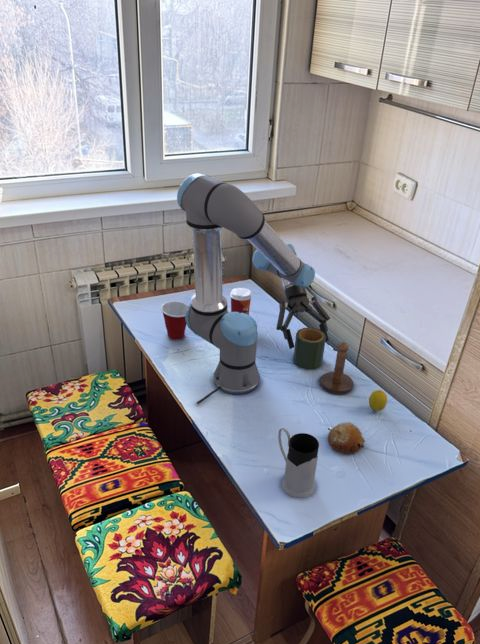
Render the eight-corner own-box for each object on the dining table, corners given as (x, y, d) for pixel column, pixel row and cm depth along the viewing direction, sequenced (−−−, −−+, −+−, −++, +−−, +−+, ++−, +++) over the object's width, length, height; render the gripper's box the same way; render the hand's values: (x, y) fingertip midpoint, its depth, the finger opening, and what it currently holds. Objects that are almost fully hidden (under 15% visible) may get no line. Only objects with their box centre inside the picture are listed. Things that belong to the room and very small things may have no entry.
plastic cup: (187, 345, 202) (186, 316, 196) (158, 341, 203) (156, 312, 197) (194, 330, 211) (194, 302, 205) (167, 326, 212) (166, 298, 206)
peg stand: (348, 398, 182) (356, 355, 173) (316, 389, 185) (322, 346, 176) (356, 380, 191) (364, 338, 182) (325, 371, 194) (331, 330, 185)
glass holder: (295, 502, 144) (301, 460, 136) (263, 468, 153) (267, 427, 145) (321, 488, 149) (328, 446, 140) (288, 456, 158) (293, 415, 150)
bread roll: (343, 438, 171) (337, 415, 169) (372, 442, 164) (366, 418, 162) (325, 455, 164) (319, 431, 162) (355, 459, 157) (348, 434, 155)
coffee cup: (247, 333, 212) (249, 298, 204) (226, 330, 213) (227, 295, 205) (252, 322, 219) (254, 288, 211) (231, 319, 220) (233, 285, 212)
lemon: (371, 417, 175) (375, 397, 171) (364, 406, 179) (368, 386, 175) (387, 415, 176) (392, 395, 172) (379, 404, 181) (384, 384, 176)
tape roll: (317, 372, 194) (320, 345, 188) (289, 364, 196) (292, 338, 190) (324, 357, 202) (328, 331, 196) (298, 350, 204) (301, 325, 198)
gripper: (320, 285, 207) (335, 340, 204) (258, 295, 197) (273, 353, 194) (329, 279, 200) (344, 335, 197) (265, 288, 191) (281, 348, 188)
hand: (309, 344), depth 196 cm, fingers open, 13 cm apart
